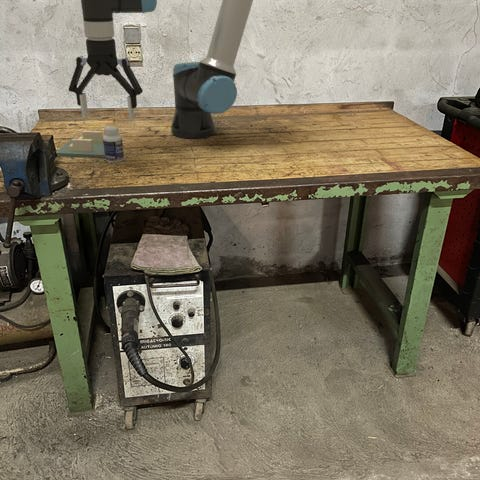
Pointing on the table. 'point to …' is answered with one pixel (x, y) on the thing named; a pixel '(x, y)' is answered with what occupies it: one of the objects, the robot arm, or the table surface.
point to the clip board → (84, 146)
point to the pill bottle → (113, 145)
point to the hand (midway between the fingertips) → (108, 118)
